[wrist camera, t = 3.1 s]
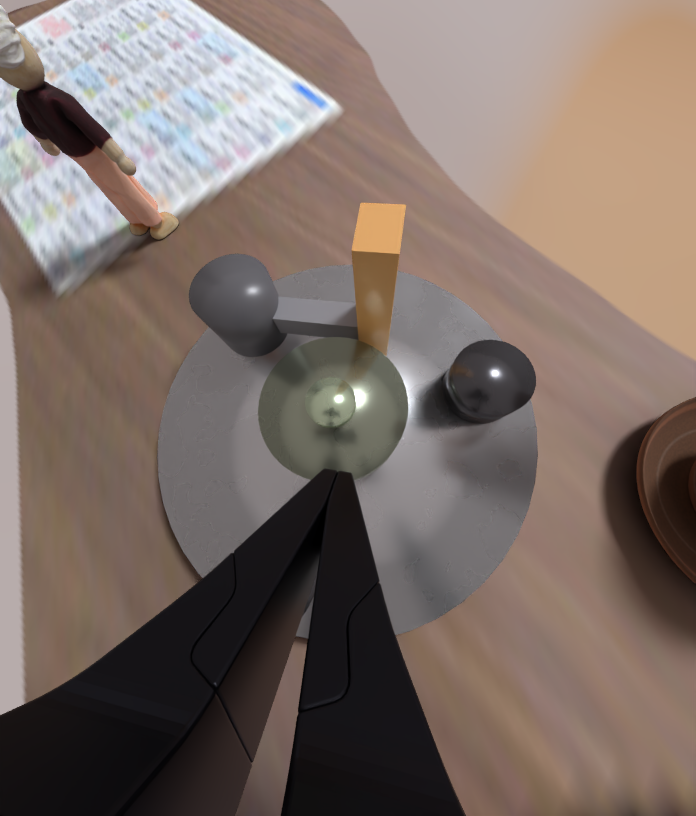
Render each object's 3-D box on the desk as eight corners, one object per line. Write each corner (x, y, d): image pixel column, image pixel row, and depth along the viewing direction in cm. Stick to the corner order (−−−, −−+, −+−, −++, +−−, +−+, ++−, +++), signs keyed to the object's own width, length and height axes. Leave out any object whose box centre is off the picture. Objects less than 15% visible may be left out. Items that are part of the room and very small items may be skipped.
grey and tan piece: (215, 353, 19) (107, 258, 11) (234, 295, 21) (147, 172, 13) (384, 372, 18) (395, 280, 10) (392, 309, 19) (409, 182, 11)
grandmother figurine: (194, 210, 26) (34, -42, 13) (181, 243, 25) (-4, 4, 12) (120, 206, 26) (-94, -33, 14) (104, 238, 25) (-140, 10, 13)
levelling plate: (314, 742, 14) (286, 870, 10) (112, 410, 21) (33, 387, 16) (609, 437, 17) (701, 418, 13) (356, 227, 24) (352, 160, 19)
